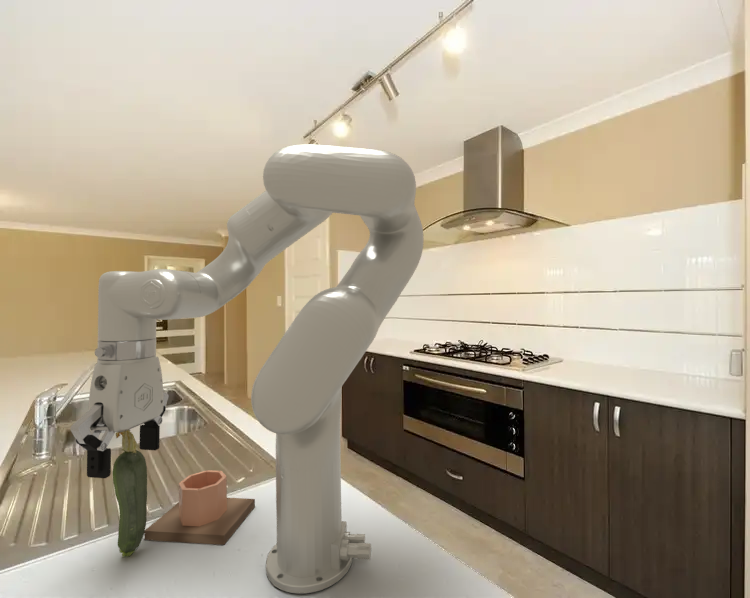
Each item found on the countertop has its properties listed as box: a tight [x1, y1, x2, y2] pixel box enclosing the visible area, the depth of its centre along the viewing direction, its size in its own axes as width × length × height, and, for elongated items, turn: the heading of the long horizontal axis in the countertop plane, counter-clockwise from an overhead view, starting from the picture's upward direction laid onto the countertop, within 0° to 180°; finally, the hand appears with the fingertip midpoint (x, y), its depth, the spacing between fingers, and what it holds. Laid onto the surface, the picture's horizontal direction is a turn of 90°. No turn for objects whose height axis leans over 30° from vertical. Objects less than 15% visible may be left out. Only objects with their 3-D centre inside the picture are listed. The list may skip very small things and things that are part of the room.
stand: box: [143, 497, 256, 546], centre depth 65 cm, size 14×11×2 cm
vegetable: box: [111, 429, 148, 558], centre depth 56 cm, size 4×4×20 cm
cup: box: [178, 469, 228, 526], centre depth 65 cm, size 7×7×6 cm
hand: (126, 461), depth 56 cm, fingers open, 9 cm apart
